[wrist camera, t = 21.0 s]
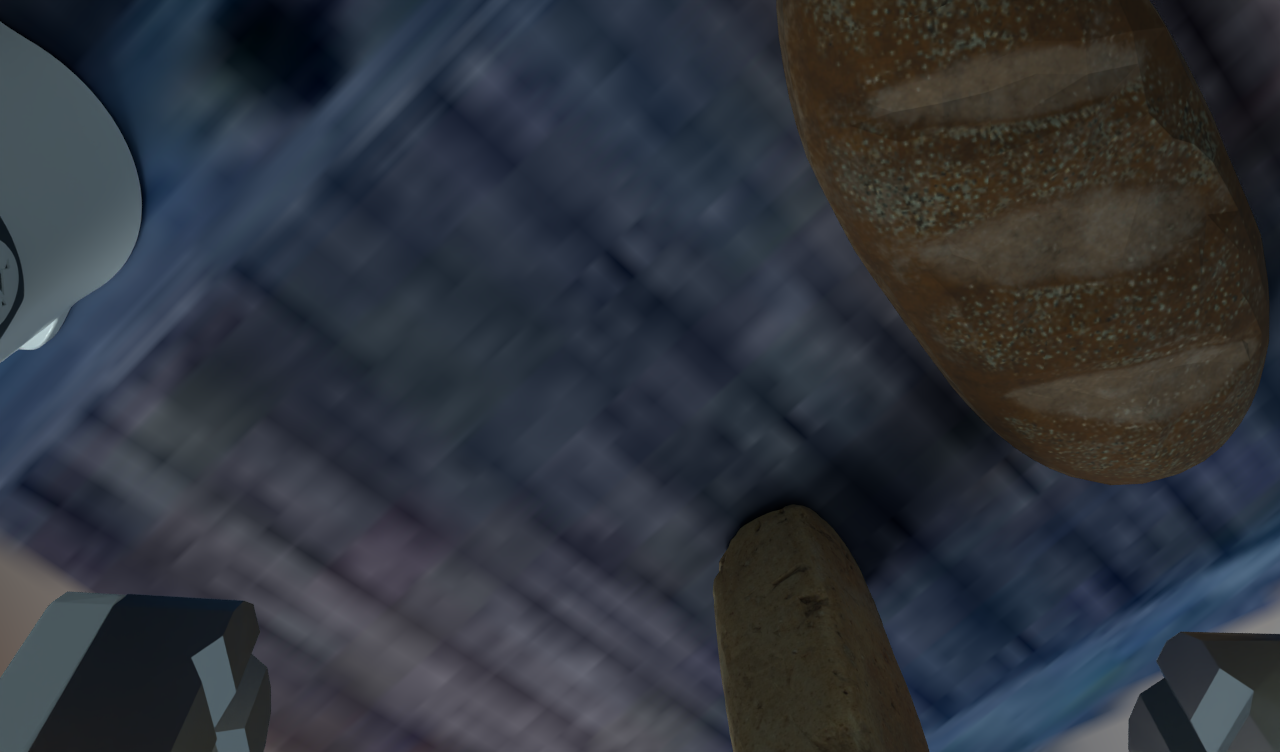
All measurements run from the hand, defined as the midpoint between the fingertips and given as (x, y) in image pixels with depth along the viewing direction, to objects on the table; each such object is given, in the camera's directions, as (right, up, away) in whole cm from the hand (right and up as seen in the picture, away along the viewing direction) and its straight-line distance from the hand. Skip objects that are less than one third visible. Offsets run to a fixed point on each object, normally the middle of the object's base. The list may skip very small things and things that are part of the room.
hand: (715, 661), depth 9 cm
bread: (+18, +12, +40) cm, 45 cm away
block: (+9, -9, +53) cm, 54 cm away
